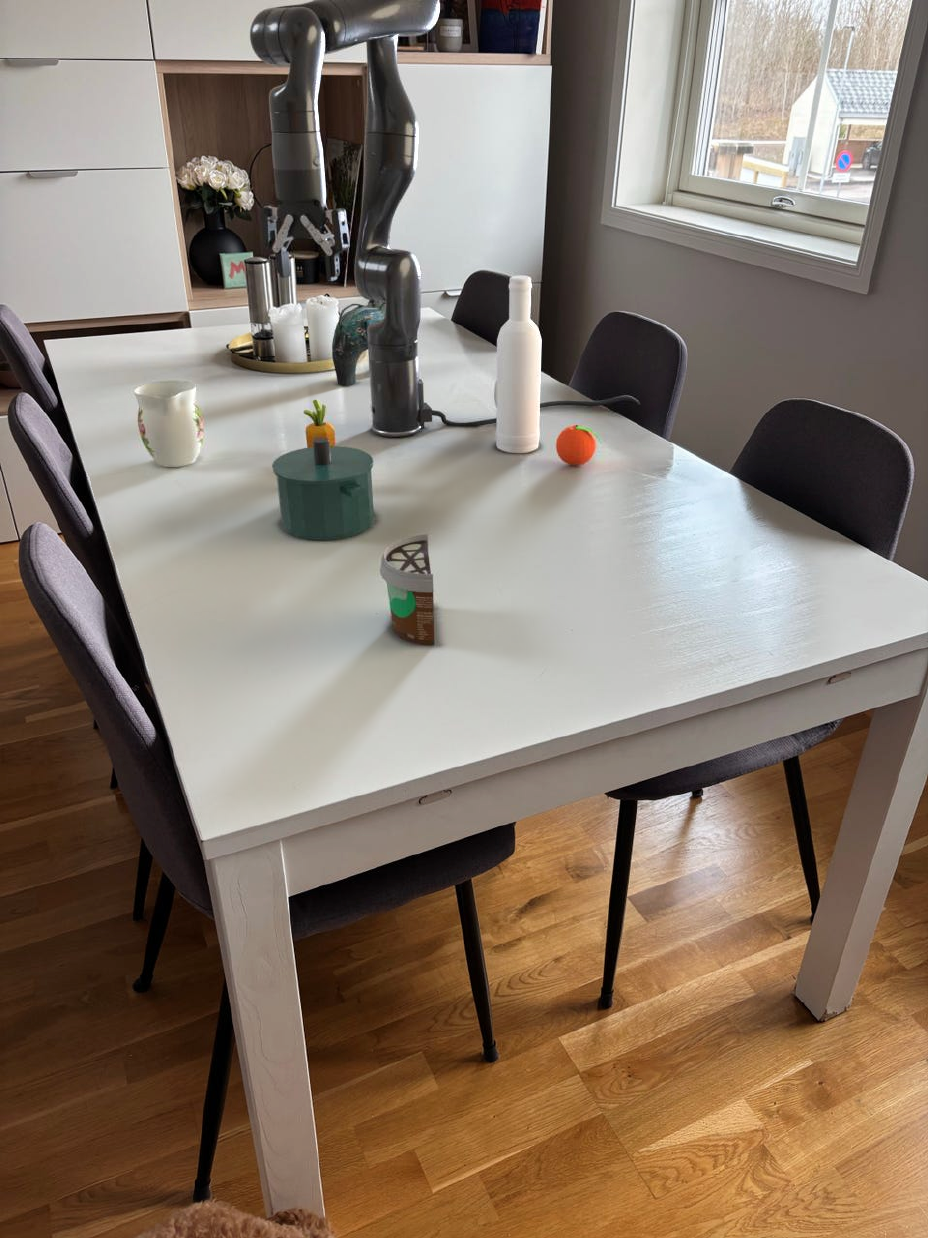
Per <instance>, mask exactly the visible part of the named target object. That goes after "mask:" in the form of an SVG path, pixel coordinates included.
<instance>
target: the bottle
mask: <svg viewBox="0 0 928 1238" xmlns="http://www.w3.org/2000/svg"><path fill="white" fill-rule="evenodd" d="M532 287H533V285H532V278H531V277H530V276H528V275H523V274H522V275H512V276H510V278H509V283H508V291H509V299H508V300H509V301H508V302H509V304H508V319H507V321H505V323H504V324H503V325H502V326H501V327H500V329H499V332H498V335H497V338H496V380H497V408H496V418H497V423H496V424H495V425H496V428H495V440H496V441H495V442H496V443H495V444H496V447H497V449H498V450H500V451H501V452H505V453H508V454H526V453H531V452H533V451H535V450H537V449H538V448H539V441H540V409H541V408H540V403H541V375H542V374H541V371H542V370H541V369H542V336H541V333H540V330H539V327H538V326H537V325H536V324H535V323H534V321H533V320H532V319H531V299H532V298H531V297H532V296H531V295H532V292H531V291H532Z"/></svg>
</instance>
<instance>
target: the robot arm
mask: <svg viewBox="0 0 928 1238" xmlns="http://www.w3.org/2000/svg"><path fill="white" fill-rule="evenodd" d="M440 11H441V0H311V1H307V2H304V3H298V4H288V5H281V6H274V7H269V8H265V9H263V10H261V11H259V12H258V13H257V14H256V16H255V17H254V18H253V20H252V22H251V25H250V30H249V40H250V45H251V48H252V50H253V52H254V54H255V55H256V56H257V58H258V59H259V60H261V62H263V63H265V64H266V65H269V66H273V67H289V70H288V75H287V79H286V82H285V83H283V84H280V85H278V86H275V87H273V88H272V89H271V90H270V91H269V94H268V105H269V117H270V127H271V128H270V129H271V155H272V166H273V177H274V187H275V194H276V199H277V202H278V206H277V207H275V206H274V205H271V204H270V205H266V206H262V207H260V227H261V228H260V229H261V245H262V247H263V248H265V249H267V248H268V249H269V250H272V251H273V253H274V257H275V268H276V272H277V274H278V275H279V277H280V279H286V278H290V277H291V264H290V263H291V262H290V252H289V251H287V249H288V248H289V246H290V244H291V242H292V241H293V240H294V239H299V238H303V239H306V240H310V239H313V240H314V241H315V242H316V244H318V245H319V246H320V247H321V249H322V250H323V252H324V253H325V254H326V255H325V256H324V261H325V273H326V274H325V275H326V280H327V281H328V282H333V281H337V279H338V277H339V276H340V273H341V269H340V253H342V252H344V251H347V250H349V249H350V247H351V245H350V244H351V243H350V235H349V227H348V219H347V211H346V209H345V208H344V207H340V208H335V209H328V206H327V203H326V200H327V188H326V186H327V185H326V175H325V174H326V173H325V162H324V161H325V160H324V149H323V143H322V139H321V131H320V130H321V129H320V116H319V115H320V114H319V105H318V101H319V100H318V99H319V94H320V93H319V91H320V86H321V79H322V73H323V65H324V60H325V55H330V54H333V53H338V52H340V51H343V50H346V49H349V48H352V47H354V46H355V47H356V46H358V45H361V44H364V43H366V66H367V67H366V71H367V72H366V74H367V76H366V84H367V85H366V112H365V126H364V141H363V142H364V144H363V181H362V182H363V183H362V195H361V196H362V197H361V212H360V219H359V220H360V221H359V227H358V236H357V243H356V251H355V257H354V283H355V287H356V289H357V292H358V294H359V295H360V296H361V297H362V298H364V299H365V300H368V301H369V300H373V301H379V302H386V311H385V317H384V318H383V319H382V320H379V321H376V322H373V323H371V324H370V325H369V326H368V329H367V336H368V350H367V351H368V353H367V354H368V369H369V384H370V402H371V403H370V405H369V406H370V412H371V416H372V417H371V418H372V420H371V422H372V424H371V426H372V427H371V428H372V429H371V430H372V432H373V433H374V434H375V435H378V436H380V437H381V436H382V437H388V438H402V437H408V436H413V435H415V434H418V433H419V432H420V431H421V430H424V429H425V423H431V422H433V416H436V417H439V418H440V420H441V422H442V423H443V424H444V425H446V426H448V427H464V428H465V427H466V428H469V427H470V428H473V427H481V426H487V425H493V424H497V417H495V418H488V419H481V420H475V421H468V422H467V421H466V422H457V421H451V420H449V419H447V417H446V414H445V413H444V412H442V411H439V410H433V408H432V407H431V406H430V405H429V404H428V403H427V402H425V395H424V393H425V392H424V381H423V380H422V379H421V378H420V377H419V376H420V375H419V372H420V371H419V349H418V332H419V327H420V323H421V306H422V305H421V303H422V302H421V301H422V300H421V299H422V273H421V268H420V267H421V266H420V264H419V261H418V259H417V257H416V255H415V254H414V253H412V252H411V251H409V250H406V249H405V250H404V249H399V248H391V247H390V239H391V231H392V230H391V229H392V224H393V220H394V216H395V213H396V211H397V209H398V207H399V205H400V203H401V202H402V200H403V198H404V196H405V195H406V193H407V192H408V189H409V187H410V185H411V183H412V182H413V179H414V177H415V173H416V170H417V166H418V153H419V136H420V128H419V127H420V126H419V122H418V119H417V116H416V112H415V111H414V108H413V105H412V103H411V101H410V98H409V97H408V94H407V92H406V89H405V87H404V85H403V82H402V79H401V77H400V72H399V67H398V37H418V36H422V35H425V34H428V33H429V32H430V31H432V30H433V28H434V27H435V25H436V24H437V22H438V19H439V16H440ZM278 219H279V221H280V222H281V224H282V225H281V227H280V229H279V230H278V233H277V221H278ZM328 220H329V223H330V224H331V225H332V231H330V228H329V227H328V226H327V225H326V223H327V222H328ZM332 232H333V233H332ZM624 401H628V402H630V403H633V404H634V405H636V406H640V405H641V402H640V401H639V400H638V399H637V398H635V397H633V396H631V395H619V396H614V397H612V398H608V399H603V400H569V399H568V400H567V399H566V400H564V399H563V400H552V401H545V402H540V409H542V408H548V407H556V406H558V407H559V406H577V407H578V406H579V407H601V406H606V405H611V404H614V403H618V402H624Z"/></svg>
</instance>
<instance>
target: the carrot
mask: <svg viewBox="0 0 928 1238" xmlns="http://www.w3.org/2000/svg"><path fill="white" fill-rule="evenodd" d="M312 403H313V406H314V408H315V411H310V410H307V409H305V410H303V414H304V415H307V416H308V417H309V418H310V419H311V420H312V421H313V422H312V423H310V424H308V425H307V426H305V438H306V448H309V447H313V440H314V439H316V438H328V439H329V444H330V446H336V433H335V428H334V426H333V424H331V423H329V422H325V421H324V419H325V416H326V411H327V406H326V405H325V404H323V403H321V404H322V405H321V404H320V402H319V399H313V400H312Z"/></svg>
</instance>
